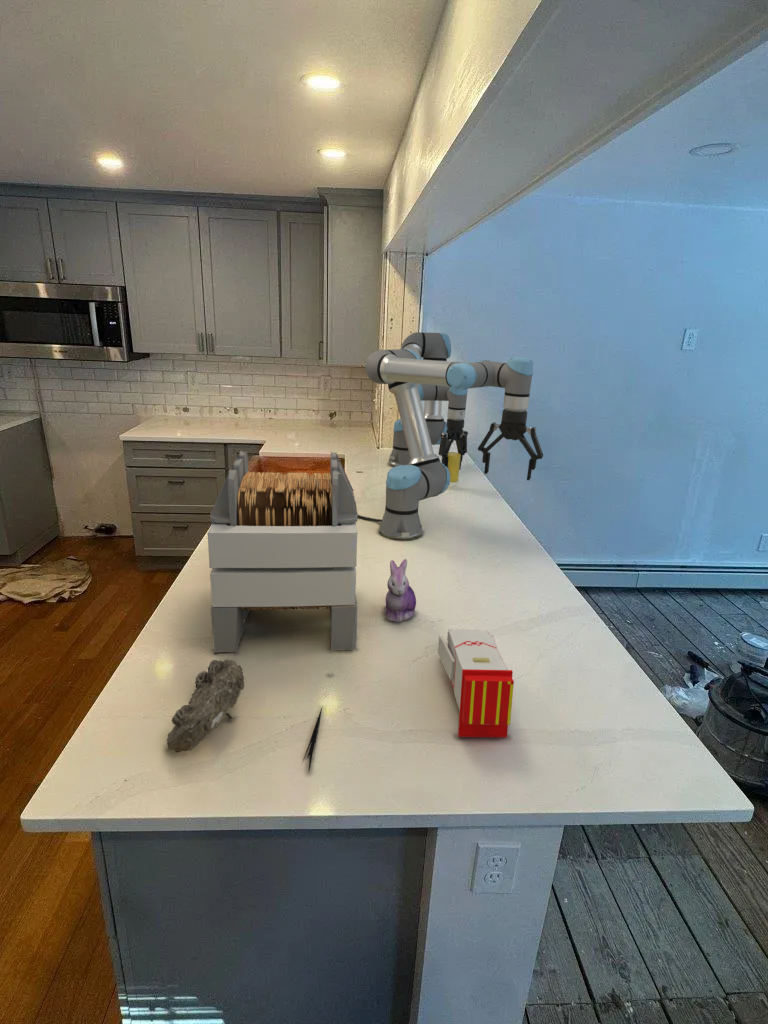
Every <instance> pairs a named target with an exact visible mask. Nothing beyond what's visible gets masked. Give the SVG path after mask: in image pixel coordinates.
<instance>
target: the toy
mask: <svg viewBox="0 0 768 1024" xmlns="http://www.w3.org/2000/svg"><path fill="white" fill-rule="evenodd" d="M446 640H447V643H446V641H445V639H444V636H443V635H442V634H439V637H438V646H437V656H438V657H439V659H440V661H441V663H442V666H443V668H444V670H445V672H446V674H447V677H448V679H449V681H450V684H451V687H452V690H453V693H454V697H455V701H456V705H457V708H458V711H459V714H458V715H459V716H458V730H457V731H458V732H457V737H458V738H508V731H509V726H510V725H511V717H512V707H513V697H514V696H513V695H514V684H515V680H514V679H513V673H514V671H513V670H512V669H508V667H507V665H506V662H505V661H504V659H503V658H502V655H501V653H500V651H499V649H498V647H497V643H496V639H495V637H494V635H493V634H491V632H490V631H489V629H467V628H466V629H465V628H463V629H461V628H460V629H459V628H448V630H447V639H446Z"/></svg>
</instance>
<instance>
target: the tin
mask: <svg viewBox="0 0 768 1024" xmlns="http://www.w3.org/2000/svg"><path fill="white" fill-rule="evenodd" d="M447 457H448V470H449V472H450V483H458V482H459V478H460V477H459V476H460V470H459V467H460V457H461V454H459V453H458V452H455V451H449V452H448V455H447Z"/></svg>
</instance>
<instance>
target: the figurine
mask: <svg viewBox="0 0 768 1024" xmlns="http://www.w3.org/2000/svg"><path fill="white" fill-rule="evenodd" d="M407 567H408V559H406V558H404V559H403V560H402V561H401V563H400V565H399V566H398V565H397V563H396V562H395V561H394V560H393V559H391V560H390V561H389V570H390V576H389V578H388V579H387V589H388V591H387V592H386V594H385V595H386V596H385V607H384V615H385V616H386V620H387V621H391V622H395V623H400V622H402V621H406V620H409V619H410V618H411V617H413V616H414V615H415V610H416V606H417V597H416V593H415V591H414V590H413V587H411V586H410V582H409V579H408V577H407V574H406V571H407Z"/></svg>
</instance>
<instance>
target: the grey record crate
mask: <svg viewBox="0 0 768 1024" xmlns="http://www.w3.org/2000/svg"><path fill="white" fill-rule="evenodd" d="M329 465H330V466H329V467H330V469H329V470H330V472H324V473H321V472H313V474H309V473H308V472H286V473H285V472H284V473H283V472H274V471H273V472H269V471H266V472H264V471H263V472H260V471H259V472H258V471H257V472H255V471H249V459H248V451H242V450H240V451H239V453H238V455H237V457H236V458H235V460H234V463H233V465H232V467H231V468H230V469H229V471H228V473H227V475H226V477H225V480H224V482H223V484H222V487H221V489H220V491H219V493H218V496H217V498H216V500H215V502H214V504H213V507H212V508H211V511H210V514H209V519H210V523H211V525H210V527H209V529H208V531H207V532H206V534H207V548H208V562H209V563H208V565H209V569H211V570H210V573H209V575H210V576H209V577H210V590H211V591H210V592H211V593H210V594H211V606H210V617H211V633H212V637H213V638H212V639H213V649H212V652H213V653H214V654H215V653H216V654H220V653H236V652H237V649H238V647H239V645H240V642H241V639H242V637H243V635H244V632H245V625H246V624H245V621H247V619H248V615H249V611H268V610H270V611H273V610H274V611H275V610H277V611H278V610H279V611H280V610H284V611H286V610H290V611H291V610H294V611H295V610H325V609H326V610H329V619H330V621H329V622H330V623H329V625H330V626H329V627H330V628H329V629H330V650H331V651H351V652H353V651H354V650H355V649H357V638H358V635H357V631H358V602H357V601H358V600H357V593H356V590H357V589H356V588H357V569H356V568H357V555H358V553H357V551H358V529H357V522H358V519H359V518H358V515H359V513H358V507H357V502H356V497H355V493H354V488H353V486H352V484H351V481H350V479H349V478H348V475H347V473H346V471H345V469H344V466H343V464H342V461H341V460H340V458H339V456H338V453H337V452H333V451H330V463H329Z"/></svg>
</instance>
